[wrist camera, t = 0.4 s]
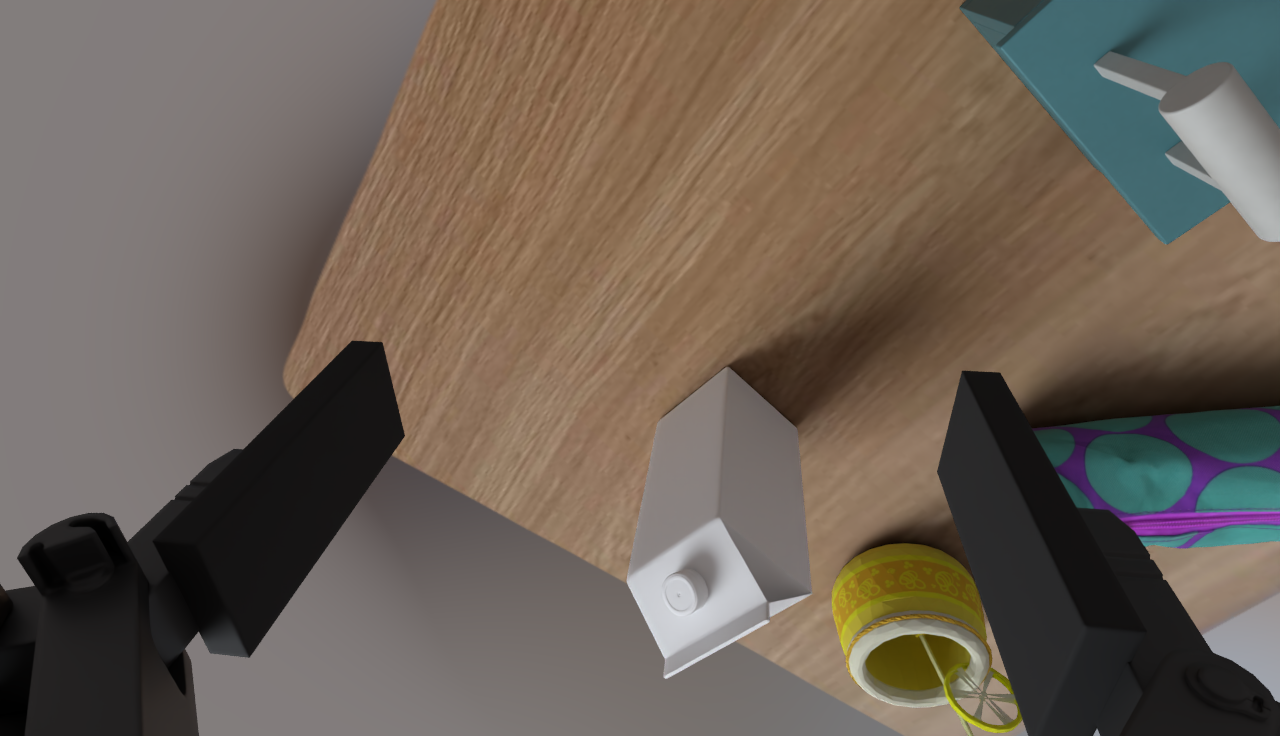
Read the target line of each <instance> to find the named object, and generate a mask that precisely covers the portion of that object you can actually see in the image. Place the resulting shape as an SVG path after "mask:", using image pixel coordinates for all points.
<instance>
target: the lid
mask: <svg viewBox="0 0 1280 736" xmlns="http://www.w3.org/2000/svg"><path fill="white" fill-rule="evenodd" d="M996 48H997V49H998V50H999V52H1000V53H1001V54H1002V55H1003V56H1004V58H1005V59H1006V60H1007V61H1008V62H1009V63H1010V65H1011V66H1012V67H1013V68H1014V69H1015V71H1016V72H1017V73H1018V74H1019V75H1020V76H1021V78H1022V79H1023V80H1024V81H1025V82H1026V84H1027V85H1028V86H1029V87H1030V88H1031V89H1032V91H1033V92H1034V93H1035V94H1036V95H1037V96H1038V98H1039V99H1040V100H1041V101H1042V102H1043V104H1044V105H1045V106H1046V107H1047V108H1048V109H1049V111H1050V112H1051V113H1052V114H1053V115H1054V117H1055V118H1056V119H1057V120H1058V121H1059V122H1060V124H1061V125H1062V126H1063V127H1064V128H1065V130H1066V131H1067V132H1068V133H1069V134H1070V135H1071V137H1072V138H1073V139H1074V140H1075V141H1076V143H1077V144H1078V145H1079V146H1080V147H1081V148H1082V150H1083V151H1084V152H1085V153H1086V154H1087V156H1088V157H1089V158H1090V159H1091V160H1092V161H1093V163H1094V164H1095V165H1096V166H1097V167H1098V168H1099V170H1100V171H1101V172H1102V173H1103V174H1104V176H1105V177H1106V178H1107V179H1108V180H1109V181H1110V183H1111V184H1112V185H1113V186H1114V187H1115V189H1116V190H1117V191H1118V192H1119V193H1120V194H1121V196H1122V197H1123V198H1124V199H1125V200H1126V202H1127V203H1128V204H1129V205H1130V206H1131V207H1132V209H1133V210H1134V211H1135V212H1136V213H1137V215H1138V216H1139V217H1140V218H1141V219H1142V220H1143V222H1144V223H1145V224H1146V225H1147V226H1148V227H1149V229H1150V230H1151V231H1152V232H1153V233H1154V235H1155V236H1156V237H1157V238H1158V239H1159V240H1160V241H1162V242H1163V243H1164V244H1169V243H1171V242H1172V241H1174V240H1175V239H1176V238H1178V237H1179V236H1181V235H1182V234H1184V233H1185V232H1187V231H1188V230H1190V229H1191V228H1193V227H1194V226H1196V225H1197V224H1199V223H1200V222H1202V221H1203V220H1204V219H1206V218H1207V217H1209V216H1210V215H1212V214H1213V213H1215V212H1216V211H1218V210H1219V209H1221V208H1222V207H1224V206H1225V205H1227V204H1228V203H1230V202H1231V203H1232V204H1233V206H1234V207H1235V208H1236V210H1237V211H1238V212H1239V213H1240V215H1241V216H1242V217H1243V218H1244V220H1245V221H1246V222H1247V223H1248V225H1249V226H1250V227H1251V228H1252V230H1253V231H1254V232H1255V234H1256V235H1257V236H1258V237H1259V238H1260V239H1262V240H1265V241H1269V242H1280V0H1044V1H1043V2H1042V3H1041V4H1040V5H1038V6H1037V7H1036V8H1035V9H1034V10H1033V11H1032V12H1031V13H1030V14H1029V15H1028V16H1026V17H1025V18H1024V19H1023V20H1022V21H1021V22H1020V23H1019V24H1018V25H1017V26H1016V27H1014V28H1013V29H1012V30H1011V31H1010V32H1009V33H1008V34H1007V35H1006V36H1005V37H1004V38H1002V39H1001V40H1000V41H999V42H998V43H997V44H996Z"/></svg>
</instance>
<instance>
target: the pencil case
mask: <svg viewBox="0 0 1280 736" xmlns="http://www.w3.org/2000/svg"><path fill="white" fill-rule="evenodd" d="M1032 430H1033V431H1034V433H1035V435H1036V437H1037V439H1038V440H1039V442H1040V444H1041V446H1042V447H1043V449H1044V451H1045V453H1046V454H1047V456H1048V458H1049V460H1050V461H1051V463H1052V465H1053V467H1054V468H1055V470H1056V472H1057V474H1058V475H1059V477H1060V479H1061V481H1062V483H1063V484H1064V486H1065V488H1066V490H1067V491H1068V493H1069V495H1070V497H1071V498H1072V500H1073V502H1074V504H1075V505H1076V507H1077V508H1091V509H1105V510H1110V511H1111V512H1112V513H1113V514H1114V515H1116V516H1117V517H1118V518H1119V519H1120V520H1122V521H1123V522H1124V523H1125V524H1126V525H1128V526H1129V527H1130V528H1131V529H1132V530H1134V531H1135V533H1136V534H1137V536H1138V537H1139V539H1140V540H1141V542H1142V543H1143V545H1144V546H1149V545H1158V546H1165V547H1173V548H1192V547H1213V546H1225V545H1237V544H1252V543H1261V542H1269V541H1280V406H1272V407H1257V408H1242V409H1228V410H1215V411H1204V412H1195V413H1183V414H1168V415H1155V416H1142V417H1129V418H1116V419H1107V420H1098V421H1091V422H1084V423H1078V424H1070V425H1062V426H1053V427H1042V428H1033V429H1032Z"/></svg>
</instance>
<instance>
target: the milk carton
mask: <svg viewBox="0 0 1280 736" xmlns="http://www.w3.org/2000/svg"><path fill="white" fill-rule="evenodd" d="M627 584H628V586H629V588H630V590H631V592H632V594H633V596H634V598H635V600H636V602H637V604H638V606H639V608H640V610H641V612H642V614H643V616H644V618H645V620H646V622H647V624H648V626H649V628H650V630H651V632H652V634H653V636H654V638H655V640H656V642H657V644H658V646H659V648H660V650H661V652H662V654H663V656H664V658H665V667H664V675H663V677H664V678H666V679H667V678H669V677H670V676H672V675H674V674H676V673H678V672H680V671H681V670H683V669H685V668H687V667H689V666H690V665H692V664H694V663H696V662H698V661H699V660H701V659H703V658H705V657H707V656H708V655H710V654H712V653H714V652H716V651H718V650H719V649H721V648H723V647H725V646H727V645H728V644H730V643H732V642H734V641H736V640H738V639H739V638H741V637H743V636H745V635H747V634H749V633H750V632H752V631H754V630H756V629H758V628H759V627H761V626H763V625H765V624H767V623H768V622H770V617H772V616H773V615H775V614H777V613H779V612H781V611H782V610H784V609H786V608H788V607H790V606H791V605H793V604H795V603H797V602H799V601H800V600H802V599H804V598H806V597H808V596H809V595H811V594H812V588H811V577H810V565H809V554H808V543H807V531H806V520H805V508H804V497H803V486H802V474H801V463H800V452H799V440H798V430H797V428H796V427H795V426H794V425H793V424H792V423H790V422H789V421H788V420H787V419H786V418H785V417H784V416H783V415H782V414H780V413H779V412H778V411H777V410H776V409H775V408H774V407H773V406H772V405H771V404H769V403H768V402H767V401H766V400H765V399H764V398H763V397H762V396H761V395H759V394H758V393H757V392H756V391H755V390H754V389H753V388H752V387H751V386H749V385H748V384H747V383H746V382H745V381H744V380H743V379H742V378H741V377H739V376H738V375H737V374H736V373H735V372H734V371H733V370H732V369H731V368H729V367H726V368H724V369H723V370H721V371H720V372H719V373H718V374H716V375H715V376H714V377H713V378H711V379H710V380H709V381H708V382H706V383H705V384H704V385H703V386H701V387H700V388H699V389H698V390H696V391H695V392H694V393H693V394H691V395H690V396H689V397H688V398H687V399H685V400H684V401H683V402H682V403H680V404H679V405H678V406H677V407H675V408H674V409H673V410H672V411H670V412H669V413H668V414H667V415H665V416H664V417H663V418H662V419H661V420H659V422H658V424H657V428H656V433H655V438H654V443H653V448H652V453H651V458H650V463H649V468H648V473H647V479H646V484H645V489H644V494H643V499H642V504H641V509H640V514H639V519H638V524H637V529H636V534H635V539H634V544H633V549H632V554H631V559H630V564H629V570H628V576H627Z"/></svg>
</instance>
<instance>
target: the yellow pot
mask: <svg viewBox="0 0 1280 736" xmlns="http://www.w3.org/2000/svg"><path fill="white" fill-rule="evenodd" d="M832 608H833V615H834V619H835V623H836V627H837V630H838V634H839V638H840V642H841V645H842V648H843V651H844V653H845V656H846V663H847V665H846V666H847V668H848V672H849V674H850V676H851V677H852V679H853V680H854V681H855V683H856V684H857V685H858V686H859V687H861V688H863V689H864V690H865V691H866V692H867V693H868V694H870V695H872V696H874V697H876V698H877V699H879V700H882V701H884V702H887V703H890V704H893V705H898V706H905V707H913V708H921V707H935V706H940V705H945V704H949V703H950V705H951V706H952V708H953V709H954V710H955V711H956V712H957V714H958V716H959V719H960V721H961V723H962V725H963V727H964V729H965V731H966V733H967V735H968V736H974V735H973V733H972V731H971V729H970V727H969V725H968V723H967V722H969V723H971V724H973V725H975V726H977V727H979V728H981V729H983V730H985V731H988V732H994V733H1004V732H1009V731H1011V730H1013V729H1014V728H1015V727H1016V726H1017V725H1018V724H1019V723H1020V722H1021V721H1022V716H1021V713H1020V710H1019V707H1018V704H1017V702H1016V699H1015V696H1014V693H1013V690H1012V687H1011V684H1010V681H1009V680H1008V679H1007V678H1006V677H1004V676H1003V675H1001V674H1000V673H999V672H997V671H996V670H994V669H993V668H991V664H992V654H991V649H990V647H989V645H988V644H987V642H986V640H987V636H986V629H985V622H984V615H983V611H982V606H981V601H980V596H979V592H978V590H977V587H976V585H975V582H974V580H973V578H972V577H971V576H970V574H969V573H968V571H967V570H966V569H965V568H964V567H963V566H962V565H961V564H960V563H959V562H958V561H957V560H956V559H955V558H953V557H951V556H949V555H948V554H946V553H944V552H943V551H941V550H938V549H935V548H932V547H929V546H925V545H919V544H909V543H902V544H888V545H884V546H880V547H877V548H873V549H870V550H868V551H866V552H864V553H862V554H860V555H858V556H856V557H854V558H853V559H852V560H851V561H850V562H849V563H847V564H846V565H845V566H844V567H843V569H842V570H841V572H840V574H839V575H838V577H837V579H836V582H835V584H834V587H833V590H832ZM992 677H994V678H995V679H997V680H998V681H1000V682H1001V683H1002V684H1003V685H1004V686H1005V687H1006V688H1007V689H1008V690H1009V691H1010V693H1011V694H987V693H986V692H985V691H986V689H987V687H988V684H989V682H990V680H991V678H992ZM983 681H984V687H983V691H981V690H980V689H979V686H980V685H981V683H982V682H983ZM977 688H978V689H979V690H980V691H981V693H978V692H977V691H976V689H977ZM973 691H975V692H973ZM968 694H978V695H979V694H982V696H981V695H979V697H974V696H968ZM987 695H992V696H998V697H1003V698H988V697H987ZM985 696H986V697H987V698H984V697H985ZM962 698H979V699H981V700H980V701H981V702H980V704H979V706H978V708H977V711H976V713H975V715H974V716H972V715H970V714H968V713H967V712H966V711H965V710H964V709H962V708H961V706H960V705H959V704H958V703H957V700H960V699H962ZM985 699H989V700H990V702H991V703H992V704H993V705H994V706H995V707H996V709H997V710H998V711H999V712H1000V713H1001V715H1002V716H1003V717H1002V716H1001V715H1000V714H999V713H998V712H997V711H996V710H995V709H994V708H993V707H992V706H990V705H989V704H988V703H987V702H986V701H985ZM991 700H996V701H1002V702H1008V703H1013V704H1015V705H1017V709H1018V715H1017V718H1016V719H1015V720H1013V719H1011V718H1010V717H1009V716H1008V715H1007V714H1006V713H1004V712H1003V711H1002V710H1001V709H1000V708H999V707H998V706H997V705H996V704H995V703H993V702H992V701H991ZM983 701H985V702H986V703H987V704H988V706H989V707H990V708H991V709H992V710H993V711H994V713H995V714H996V715H997V716H998V717H999V719H1000V720H1001V721H1002V722H1003V723H1004V724H1005V725H991V724H987V723H985V722H983V721H982V720H981V715H982V707H983Z"/></svg>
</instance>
